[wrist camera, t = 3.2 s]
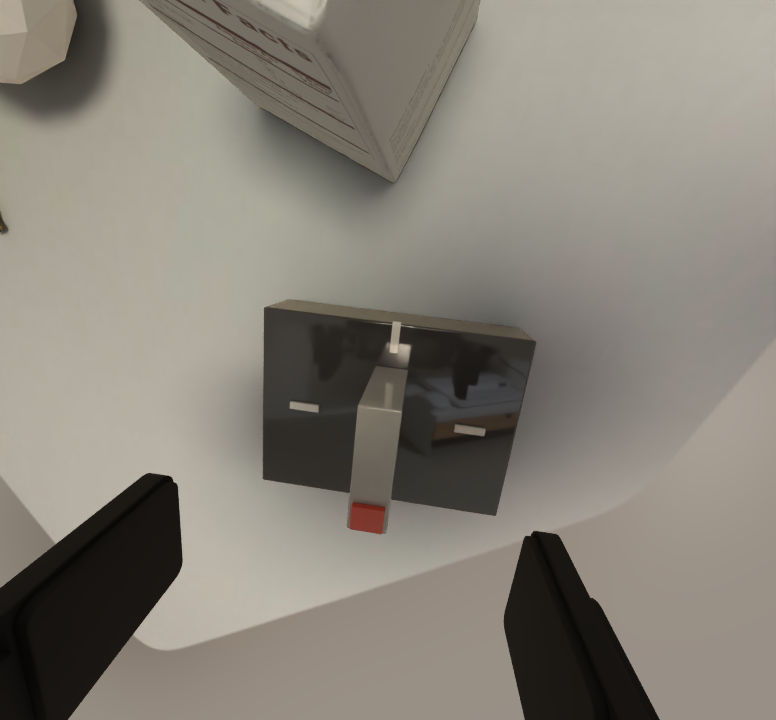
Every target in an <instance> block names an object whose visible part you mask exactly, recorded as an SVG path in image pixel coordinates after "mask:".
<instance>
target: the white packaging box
mask: <svg viewBox="0 0 776 720" xmlns="http://www.w3.org/2000/svg"><path fill="white" fill-rule="evenodd" d="M140 1H141V2H142V3H143V4H144V5H145V6H146V7H148V8H149V9H150V10H151V11H152V12H153V13H154V14H155V15H156V16H158V17H159V18H160V19H161V20H162V21H163V22H164V23H165V24H167V25H168V26H169V27H170V28H171V29H172V30H173V31H175V32H176V33H177V34H178V35H179V36H180V37H181V38H182V39H183V40H185V41H186V42H187V43H188V44H189V45H190V46H191V47H192V48H193V49H194V50H196V51H197V52H198V53H199V54H200V55H201V56H202V57H204V58H205V59H206V60H207V61H208V62H209V63H210V64H211V65H213V66H214V67H215V68H216V69H217V70H218V71H219V72H220V73H221V74H222V75H224V76H225V77H226V78H227V79H228V80H229V81H230V82H231V83H232V84H233V85H235V86H236V87H237V88H238V89H239V90H240V91H241V92H242V93H243V94H244V95H246V96H247V97H248V98H249V99H250V100H251V101H253V102H254V103H255V104H256V105H258V106H259V107H261V108H263V109H265V110H267V111H269V112H270V113H272V114H274V115H276V116H277V117H279V118H281V119H283V120H284V121H286V122H288V123H290V124H291V125H293V126H295V127H296V128H298V129H300V130H302V131H303V132H305V133H307V134H309V135H310V136H312V137H314V138H315V139H317V140H319V141H321V142H322V143H324V144H326V145H328V146H329V147H331V148H333V149H335V150H336V151H338V152H340V153H342V154H343V155H345V156H347V157H349V158H350V159H352V160H354V161H355V162H357V163H359V164H361V165H362V166H364V167H366V168H368V169H369V170H371V171H373V172H375V173H376V174H378V175H380V176H382V177H383V178H385V179H387V180H389V181H391V182H393V183H394V182H396V181H397V179H398V177H399V175H400V173H401V171H402V169H403V167H404V165H405V164H406V162H407V160H408V158H409V156H410V154H411V152H412V150H413V148H414V146H415V144H416V142H417V140H418V138H419V136H420V134H421V132H422V130H423V128H424V126H425V124H426V122H427V120H428V118H429V116H430V114H431V112H432V110H433V108H434V105H435V103H436V101H437V99H438V97H439V95H440V93H441V91H442V89H443V87H444V85H445V83H446V81H447V79H448V77H449V75H450V73H451V71H452V69H453V67H454V65H455V62H456V60H457V58H458V56H459V54H460V52H461V50H462V48H463V46H464V44H465V42H466V40H467V38H468V36H469V34H470V32H471V30H472V27H473V25H474V24H475V22H476V20H477V15H478V9H479V4H480V0H140Z"/></svg>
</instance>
